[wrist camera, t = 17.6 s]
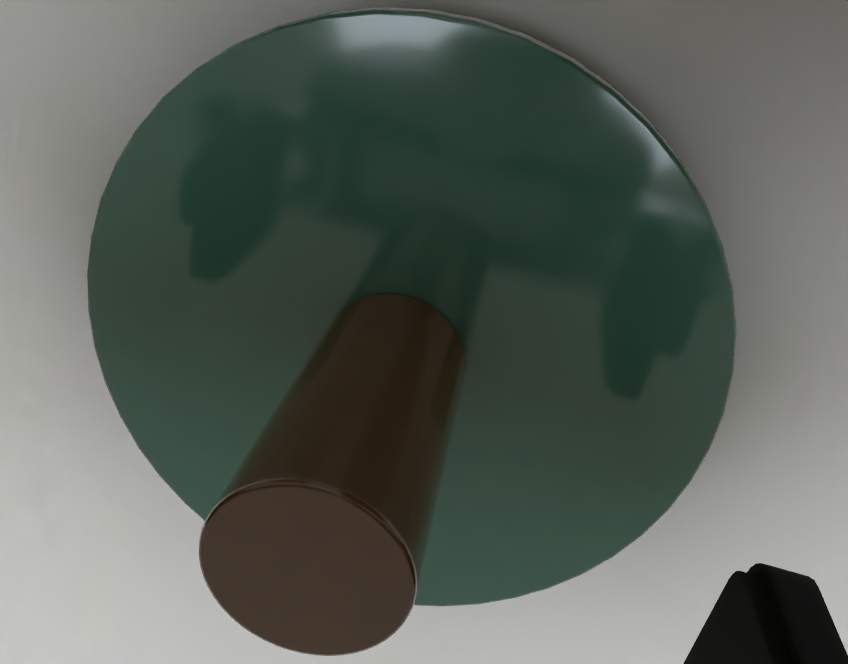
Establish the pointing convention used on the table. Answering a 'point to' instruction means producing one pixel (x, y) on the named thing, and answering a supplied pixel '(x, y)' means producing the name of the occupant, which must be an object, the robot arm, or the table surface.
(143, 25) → the table surface
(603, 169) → the lid
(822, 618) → the robot arm
